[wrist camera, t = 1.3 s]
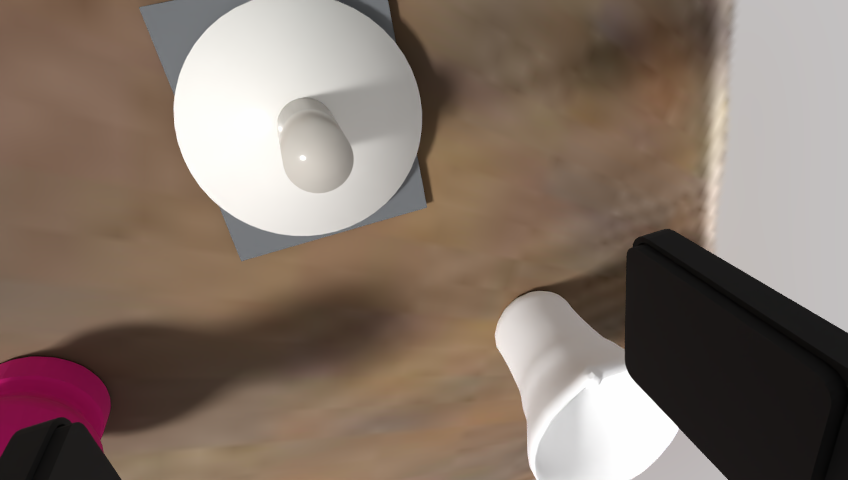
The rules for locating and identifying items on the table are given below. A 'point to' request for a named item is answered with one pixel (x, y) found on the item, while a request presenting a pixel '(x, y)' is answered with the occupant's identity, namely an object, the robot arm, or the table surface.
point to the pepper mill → (50, 396)
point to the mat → (173, 39)
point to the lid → (297, 115)
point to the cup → (577, 395)
